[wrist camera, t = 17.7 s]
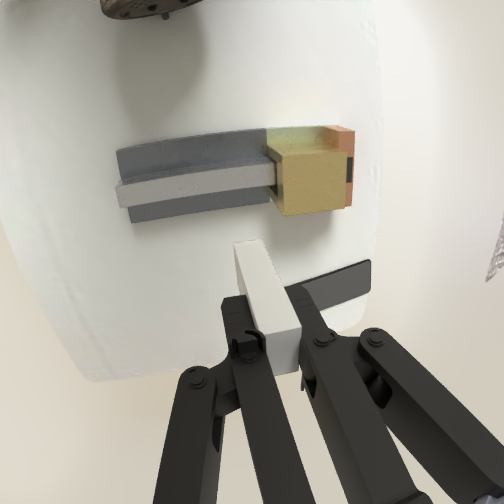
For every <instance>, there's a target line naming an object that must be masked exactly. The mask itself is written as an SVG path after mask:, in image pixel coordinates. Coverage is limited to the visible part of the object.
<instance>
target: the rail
mask: <svg viewBox="0 0 504 504" xmlns="http://www.w3.org/2000/svg"><path fill="white" fill-rule="evenodd" d="M320 141H324V142H326V143H329V144H331V145H333V146H335V147H338V148H340V149H342V150H344V151H346V152H347V171H346V192H345V207H347V206H351V205H352V190H353V171H354V143H355V131H353V130H350V129H346V128H343V127H340V126H337V125H319V126H292V127H275V128H261V129H249V130H239V131H229V132H221V133H212V134H205V135H197V136H190V137H184V138H178V139H171V140H166V141H160V142H154V143H149V144H144V145H139V146H134V147H129V148H124V149H120V150H117V151H116V154H117V160H118V165H119V170H120V175H121V180H120V181H119V183H118V184H117V186H116V187H115V188H116V193H117V197H118V201H119V205H120V208H124V207H128V211H129V215H130V219H131V223H137V222H143V221H148V220H154V219H160V218H166V217H172V216H178V215H184V214H190V213H197V212H203V211H210V210H217V209H223V208H230V207H237V206H245V205H252V204H260V203H267V202H273V200H272V199H271V198H270V189H269V187H276V186H278V184H277V162H276V161H274V160H273V159H272V158H271V157H270V156H268V149H267V145H272V144H285V143H301V142H320Z"/></svg>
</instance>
